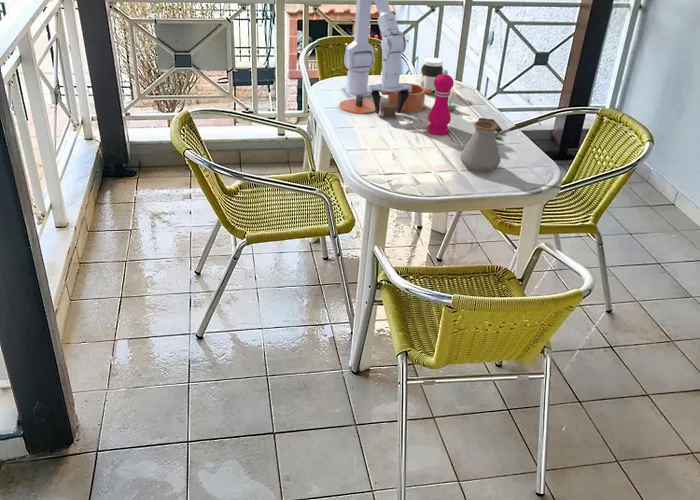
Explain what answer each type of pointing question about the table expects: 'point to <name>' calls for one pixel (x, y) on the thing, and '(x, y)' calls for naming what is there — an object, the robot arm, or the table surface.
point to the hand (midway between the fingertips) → (387, 112)
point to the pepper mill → (441, 105)
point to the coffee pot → (485, 146)
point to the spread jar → (430, 72)
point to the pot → (410, 98)
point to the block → (388, 109)
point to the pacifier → (451, 101)
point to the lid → (358, 105)
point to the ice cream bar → (494, 123)
